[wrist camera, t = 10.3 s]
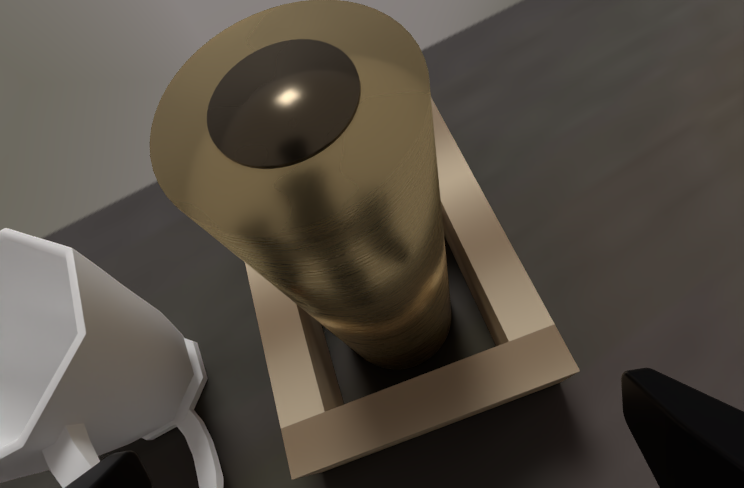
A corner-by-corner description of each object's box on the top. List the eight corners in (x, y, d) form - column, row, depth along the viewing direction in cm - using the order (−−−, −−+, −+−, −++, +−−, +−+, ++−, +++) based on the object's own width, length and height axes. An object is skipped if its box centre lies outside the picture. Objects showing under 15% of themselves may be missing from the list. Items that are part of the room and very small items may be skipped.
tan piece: (474, 314, 17) (496, 77, 6) (393, 394, 16) (244, 298, 5) (399, 244, 19) (305, -39, 8) (323, 313, 18) (102, 114, 7)
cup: (174, 273, 20) (16, 184, 13) (320, 423, 16) (209, 412, 9) (57, 393, 19) (-190, 366, 12) (186, 588, 15) (-68, 725, 8)
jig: (559, 382, 15) (592, 363, 12) (321, 472, 16) (273, 484, 12) (429, 129, 21) (421, 58, 17) (254, 200, 21) (206, 145, 17)
